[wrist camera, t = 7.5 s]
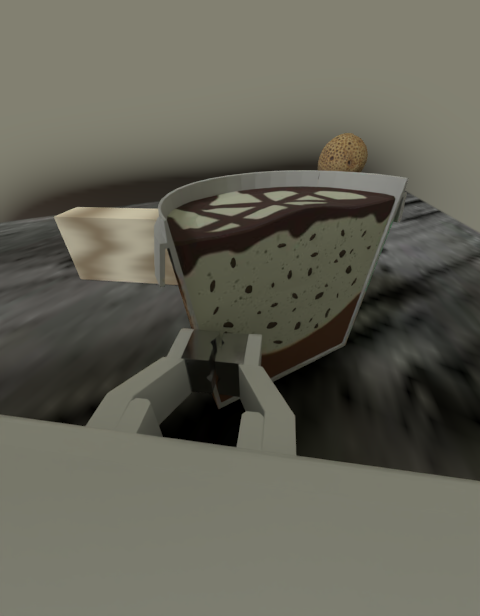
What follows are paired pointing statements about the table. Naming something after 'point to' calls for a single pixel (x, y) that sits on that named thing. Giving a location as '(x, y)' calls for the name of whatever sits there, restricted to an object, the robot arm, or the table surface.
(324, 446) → the table surface
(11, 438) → the robot arm
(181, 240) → the food container
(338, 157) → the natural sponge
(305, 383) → the table surface
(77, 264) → the birch board
